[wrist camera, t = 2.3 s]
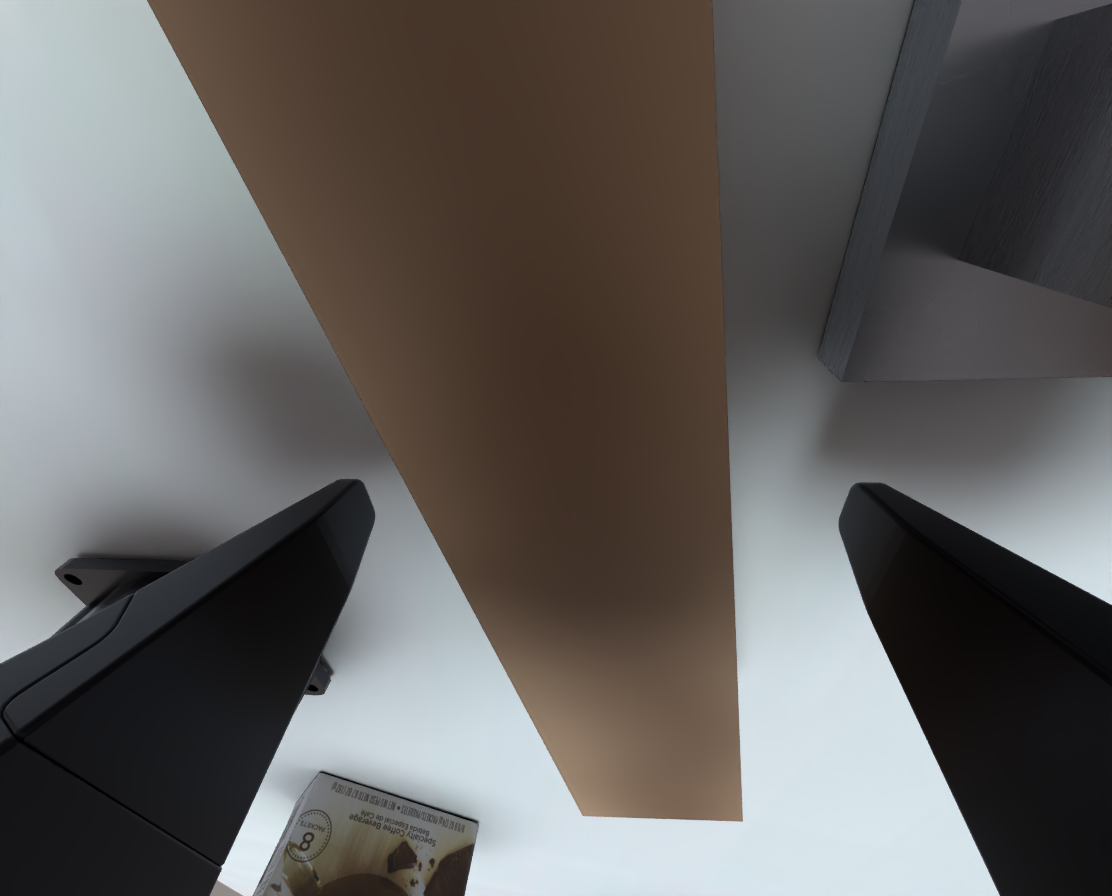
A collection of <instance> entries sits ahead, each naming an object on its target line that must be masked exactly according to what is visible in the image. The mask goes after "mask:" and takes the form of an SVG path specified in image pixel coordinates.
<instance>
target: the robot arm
mask: <svg viewBox="0 0 1112 896" xmlns="http://www.w3.org/2000/svg"><path fill="white" fill-rule="evenodd" d="M374 522H375V511H374V508H373V505H372V503H371V500H370V497H369V495H368V492H367V490H366V487H365V485H364V483H363V482H362V481H361V480H359V479H339V480H337V481H335V482H333V483H331V484H329V485H328V486H326V487H324V488H322V489H320V490H319V491H317V492H315V493H313V494H311V495H310V496H308V497H306V498H304V499H302V500H301V501H299V502H297V503H295V504H293V505H292V506H290V507H288V508H286V509H284V510H282V511H281V512H279V513H277V514H275V515H273V516H272V517H270V518H268V519H266V520H264V521H263V522H261V523H259V524H257V525H255V526H254V527H252V528H250V529H248V530H246V531H245V532H243V533H241V534H239V535H237V536H236V537H234V538H232V539H230V540H228V541H227V542H225V543H223V544H221V545H219V546H217V547H216V548H214V549H212V550H210V551H208V552H207V553H205V554H203V555H201V556H199V557H198V558H196V559H194V560H192V561H190V562H189V561H156V560H124V559H92V558H72V559H70V560H68V561H67V562H66V563H64V564H63V565H62V566H60V567H59V568H58V569H57V570H56V571H55V575H56V576H57V577H58V579H59V580H60V581H61V582H62V583H63V584H64V585H65V586H67V587H68V588H69V589H70V590H71V591H72V592H73V593H74V594H75V595H76V596H77V597H78V598H79V599H80V600H81V601H82V602H83V603H84V604H85V605H86V607H85V608H83V609H82V610H81V611H80V612H79V613H78V614H77V615H75V616H74V617H73V618H72V619H71V620H70V621H69V622H67V623H66V624H65V625H64V626H63V627H62V628H61V629H59V630H58V631H57V632H56V633H55V634H54V635H53V636H51V637H50V638H49V639H47V640H45V641H43V642H42V643H40V644H38V645H36V646H34V647H32V648H30V649H28V650H26V651H24V652H22V653H20V654H18V655H16V656H14V657H12V658H10V659H8V660H6V661H4V662H2V663H0V896H210V894H211V891H212V889H213V887H214V885H215V883H216V881H217V878H218V876H219V874H220V872H221V870H222V867H221V866H222V865H223V864H224V863H225V860H226V858H227V856H228V854H229V852H230V850H231V848H232V845H233V843H234V841H235V839H236V837H237V835H238V833H239V830H240V828H241V826H242V824H243V822H244V820H245V817H246V815H247V813H248V811H249V809H250V807H251V805H252V802H253V800H254V798H255V796H256V794H257V792H258V790H259V787H260V785H261V783H262V781H263V779H264V777H265V774H266V772H267V770H268V768H269V766H270V764H271V762H272V759H273V757H274V755H275V753H276V751H277V749H278V747H279V744H280V742H281V740H282V738H283V736H284V734H285V731H286V729H287V727H288V725H289V723H290V721H291V719H292V716H293V714H294V712H295V710H296V709H297V707H298V705H299V703H300V701H301V700H302V698H303V696H304V694H306V695H322V694H324V693H325V691H326V689H327V687H328V685H329V683H330V682H331V678H330V676H329V675H328V673H327V672H326V670H325V669H324V667H323V666H322V664H321V663H320V661H319V658H320V656H321V654H322V652H323V650H324V648H325V645H326V643H327V641H328V639H329V637H330V635H331V633H332V630H333V628H334V626H335V624H336V622H337V620H338V618H339V615H340V613H341V611H342V609H343V607H344V605H345V602H346V600H347V598H348V596H349V593H350V591H351V588H352V586H353V583H354V581H355V578H356V575H357V572H358V569H359V566H360V563H361V560H362V557H363V554H364V551H365V548H366V546H367V543H368V540H369V537H370V534H371V531H372V528H373V525H374ZM839 531H840V534H841V537H842V540H843V543H844V546H845V549H846V552H847V555H848V558H849V561H850V564H851V567H852V570H853V573H854V576H855V579H856V582H857V585H858V588H859V591H860V594H861V597H862V599H863V602H864V605H865V608H866V610H867V613H868V615H869V617H870V619H871V622H872V624H873V626H874V628H875V630H876V632H877V635H878V637H879V639H880V641H881V643H882V645H883V647H884V650H885V652H886V654H887V656H888V658H889V660H890V662H891V664H892V667H893V669H894V671H895V673H896V675H897V677H898V679H899V682H900V684H901V686H902V688H903V690H904V692H905V694H906V696H907V699H908V701H909V703H910V705H911V707H912V709H913V711H914V713H915V716H916V718H917V720H918V722H919V724H920V726H921V728H922V731H923V733H924V735H925V737H926V739H927V741H928V743H929V745H930V748H931V750H932V752H933V754H934V756H935V758H936V760H937V763H938V765H939V767H940V769H941V771H942V773H943V775H944V777H945V780H946V782H947V784H948V786H949V788H950V790H951V792H952V795H953V797H954V799H955V801H956V803H957V805H958V807H959V809H960V812H961V814H962V816H963V818H964V820H965V822H966V824H967V827H968V829H969V831H970V833H971V835H972V837H973V839H974V841H975V844H976V846H977V848H978V850H979V852H980V854H981V856H982V859H983V861H984V863H985V865H986V867H987V869H988V871H989V873H990V876H991V878H992V880H993V882H994V884H995V886H996V888H997V890H998V893H999V895H1000V896H1112V605H1111V604H1109V603H1107V602H1105V601H1103V600H1101V599H1099V598H1098V597H1096V596H1094V595H1092V594H1090V593H1088V592H1086V591H1084V590H1083V589H1081V588H1079V587H1077V586H1075V585H1073V584H1071V583H1069V582H1068V581H1066V580H1064V579H1062V578H1060V577H1058V576H1056V575H1054V574H1053V573H1051V572H1049V571H1047V570H1045V569H1043V568H1041V567H1039V566H1038V565H1036V564H1034V563H1032V562H1030V561H1028V560H1026V559H1024V558H1023V557H1021V556H1019V555H1017V554H1015V553H1013V552H1011V551H1009V550H1008V549H1006V548H1004V547H1002V546H1000V545H998V544H996V543H994V542H993V541H991V540H989V539H987V538H985V537H983V536H981V535H979V534H978V533H976V532H974V531H972V530H970V529H968V528H966V527H964V526H963V525H961V524H959V523H957V522H955V521H953V520H951V519H949V518H948V517H946V516H944V515H942V514H940V513H938V512H936V511H934V510H933V509H931V508H929V507H927V506H925V505H923V504H921V503H919V502H918V501H916V500H914V499H912V498H910V497H908V496H906V495H904V494H903V493H901V492H899V491H897V490H895V489H893V488H891V487H889V486H888V485H886V484H883V483H867V482H859V483H856V484H854V485H853V486H852V487H851V489H850V491H849V494H848V496H847V499H846V501H845V504H844V507H843V509H842V512H841V514H840V517H839Z"/></svg>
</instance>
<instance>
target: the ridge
mask: <svg viewBox="0 0 1112 896" xmlns="http://www.w3.org/2000/svg"><path fill="white" fill-rule="evenodd" d="M817 358H818V359H819V360H820V361H821V362H822V363H823V364H824V365H825V366H826V367H827V368H828V369H829V370H830V371H831V372H832V373H833V374H834V375H835V376H836V377H837V378H838V379H839V380H840V381H841V382H866V381H918V380H969V379H1020V378H1072V377H1112V0H915V3H914V6H913V10H912V14H911V17H910V21H909V25H908V28H907V32H906V36H905V39H904V43H903V47H902V50H901V54H900V58H899V61H898V65H897V69H896V72H895V76H894V79H893V83H892V87H891V90H890V94H889V98H888V101H887V105H886V109H885V112H884V116H883V120H882V123H881V127H880V131H879V134H878V138H877V142H876V145H875V149H874V153H873V156H872V160H871V164H870V167H869V171H868V174H867V178H866V182H865V185H864V189H863V193H862V196H861V200H860V204H859V207H858V211H857V215H856V218H855V222H854V226H853V229H852V233H851V237H850V240H849V244H848V248H847V251H846V255H845V258H844V262H843V266H842V269H841V273H840V277H839V280H838V284H837V288H836V291H835V295H834V299H833V302H832V306H831V310H830V313H829V317H828V321H827V324H826V328H825V332H824V335H823V339H822V342H821V346H820V350H819V353H818V357H817Z"/></svg>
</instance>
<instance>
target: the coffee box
mask: <svg viewBox="0 0 1112 896" xmlns="http://www.w3.org/2000/svg"><path fill="white" fill-rule="evenodd" d="M477 832H478V824H476V823H474V822H471V821H468V820H465V819H462V818H459V817H456V816H453V815H450V814H447V813H444V812H441V811H438V810H435V809H432V808H429V807H426V806H423V805H419V804H416V803H413V802H410V801H407V800H404V799H401V798H398V797H395V796H392V795H389V794H386V793H383V792H380V791H377V790H374V789H371V788H367V787H364V786H361V785H358V784H355V783H352V782H349V781H346V780H343V779H340V778H336V777H333V776H330V775H327V774H324V773H319V774H318V775H317V777H316V778H315V779H314V780H313V782H312V783H311V784H310V786H309V787H308V788H307V789H306V791H305V792H304V793H303V795H302V796H301V797H300V799H299V800H298V801H297V803H296V804H295V806H294V809H293V811H292V814H291V816H290V818H289V821H288V823H287V825H286V827H285V830H284V832H283V834H282V836H281V838H280V840H279V842H278V844H277V846H276V848H275V850H274V853H273V855H272V857H271V859H270V861H269V863H268V865H267V867H266V869H265V871H264V873H263V875H262V877H261V879H260V881H259V884H258V886H257V888H256V890H255V892H254V894H253V896H464V895H465V890H466V885H467V880H468V875H469V871H470V866H471V861H472V856H473V851H474V846H475V841H476V837H477Z"/></svg>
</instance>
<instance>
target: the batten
mask: <svg viewBox="0 0 1112 896" xmlns="http://www.w3.org/2000/svg"><path fill="white" fill-rule="evenodd" d="M147 1H148V3H149V5H150V7H151V9H152V10H153V12H154V14H155V16H156V18H157V20H158V22H159V24H160V25H161V27H162V29H163V31H164V33H165V35H166V37H167V38H168V40H169V42H170V44H171V46H172V48H173V50H174V52H175V53H176V55H177V57H178V59H179V61H180V63H181V65H182V67H183V68H184V70H185V72H186V74H187V76H188V78H189V80H190V82H191V83H192V85H193V87H194V89H195V91H196V93H197V95H198V96H199V98H200V100H201V102H202V104H203V106H204V108H205V110H206V111H207V113H208V115H209V117H210V119H211V121H212V123H213V125H214V126H215V128H216V130H217V132H218V134H219V136H220V138H221V140H222V141H223V143H224V145H225V147H226V149H227V151H228V153H229V155H230V156H231V158H232V160H233V162H234V164H235V166H236V168H237V169H238V171H239V173H240V175H241V177H242V179H243V181H244V183H245V184H246V186H247V188H248V190H249V192H250V194H251V196H252V198H253V199H254V201H255V203H256V205H257V207H258V209H259V211H260V213H261V214H262V216H263V218H264V220H265V222H266V224H267V226H268V227H269V229H270V231H271V233H272V235H273V237H274V239H275V241H276V242H277V244H278V246H279V248H280V250H281V252H282V254H283V256H284V257H285V259H286V261H287V263H288V265H289V267H290V269H291V271H292V272H293V274H294V276H295V278H296V280H297V282H298V284H299V286H300V287H301V289H302V291H303V293H304V295H305V297H306V299H307V300H308V302H309V304H310V306H311V308H312V310H313V312H314V314H315V315H316V317H317V319H318V321H319V323H320V325H321V327H322V329H323V330H324V332H325V334H326V336H327V338H328V340H329V342H330V344H331V345H332V347H333V349H334V351H335V353H336V355H337V357H338V358H339V360H340V362H341V364H342V366H343V368H344V370H345V372H346V373H347V375H348V377H349V379H350V381H351V383H352V385H353V387H354V388H355V390H356V392H357V394H358V396H359V398H360V400H361V402H362V403H363V405H364V407H365V409H366V411H367V413H368V415H369V417H370V418H371V420H372V422H373V424H374V426H375V428H376V430H377V431H378V433H379V435H380V437H381V439H382V441H383V443H384V445H385V446H386V448H387V450H388V452H389V454H390V456H391V458H392V460H393V461H394V463H395V465H396V467H397V469H398V471H399V473H400V475H401V476H402V478H403V480H404V482H405V484H406V486H407V488H408V489H409V491H410V493H411V495H412V497H413V499H414V501H415V503H416V504H417V506H418V508H419V510H420V512H421V514H422V516H423V518H424V519H425V521H426V523H427V525H428V527H429V529H430V531H431V533H432V534H433V536H434V538H435V540H436V542H437V544H438V546H439V548H440V549H441V551H442V553H443V555H444V557H445V559H446V561H447V562H448V564H449V566H450V568H451V570H452V572H453V574H454V576H455V577H456V579H457V581H458V583H459V585H460V587H461V589H462V591H463V592H464V594H465V596H466V598H467V600H468V602H469V604H470V606H471V607H472V609H473V611H474V613H475V615H476V617H477V619H478V620H479V622H480V624H481V626H482V628H483V630H484V632H485V634H486V635H487V637H488V639H489V641H490V643H491V645H492V647H493V649H494V650H495V652H496V654H497V656H498V658H499V660H500V662H501V664H502V665H503V667H504V669H505V671H506V673H507V675H508V677H509V679H510V680H511V682H512V684H513V686H514V688H515V690H516V692H517V693H518V695H519V697H520V699H521V701H522V703H523V705H524V707H525V708H526V710H527V712H528V714H529V716H530V718H531V720H532V722H533V723H534V725H535V727H536V729H537V731H538V733H539V735H540V737H541V738H542V740H543V742H544V744H545V746H546V748H547V750H548V751H549V753H550V755H551V757H552V759H553V761H554V763H555V765H556V766H557V768H558V770H559V772H560V774H561V776H562V778H563V780H564V781H565V783H566V785H567V787H568V789H569V791H570V793H571V795H572V796H573V798H574V800H575V802H576V804H577V806H578V808H579V810H580V811H581V813H582V815H583V816H598V817H627V818H656V819H686V820H715V821H743V815H742V788H741V762H740V735H739V708H738V682H737V655H736V628H735V602H734V575H733V548H732V521H731V495H730V468H729V441H728V415H727V388H726V361H725V335H724V308H723V281H722V254H721V228H720V201H719V174H718V148H717V121H716V94H715V68H714V41H713V14H712V0H147Z"/></svg>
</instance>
